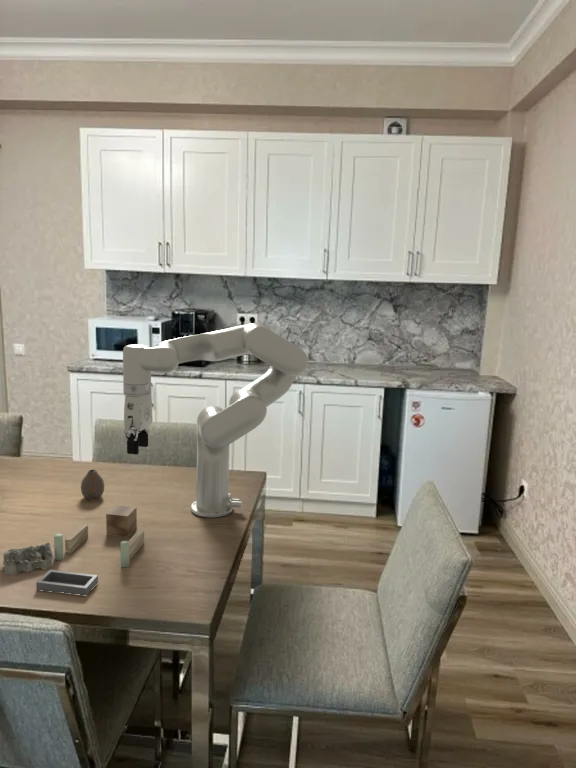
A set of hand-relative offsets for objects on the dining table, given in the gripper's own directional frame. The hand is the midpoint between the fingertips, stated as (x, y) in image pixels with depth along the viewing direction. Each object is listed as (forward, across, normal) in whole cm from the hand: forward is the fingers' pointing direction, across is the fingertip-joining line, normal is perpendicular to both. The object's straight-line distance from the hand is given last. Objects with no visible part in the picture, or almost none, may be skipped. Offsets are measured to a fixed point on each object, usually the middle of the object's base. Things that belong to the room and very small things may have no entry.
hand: (137, 449), depth 164 cm
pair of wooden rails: (+20, -22, 0) cm, 29 cm away
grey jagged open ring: (+20, -34, +14) cm, 41 cm away
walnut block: (+20, -12, 0) cm, 23 cm away
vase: (+20, +8, +18) cm, 28 cm away
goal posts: (+20, -29, 0) cm, 35 cm away
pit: (+20, -40, 0) cm, 45 cm away
